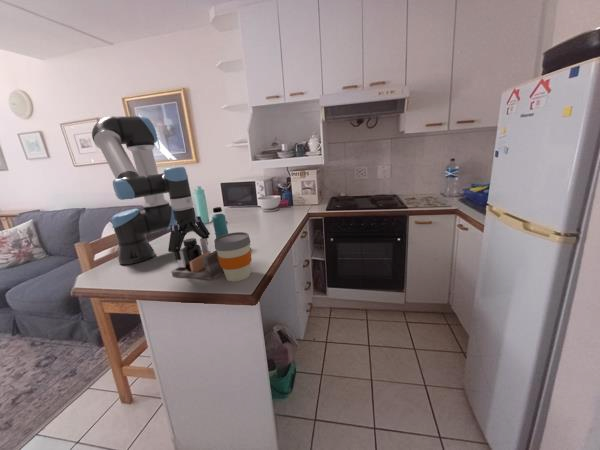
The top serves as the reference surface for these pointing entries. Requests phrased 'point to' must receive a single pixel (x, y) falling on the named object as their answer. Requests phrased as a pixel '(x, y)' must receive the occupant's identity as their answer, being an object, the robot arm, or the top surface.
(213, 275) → the grey stand
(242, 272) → the reusable coffee cup
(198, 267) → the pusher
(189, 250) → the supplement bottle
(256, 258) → the top surface
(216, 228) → the beverage bottle
